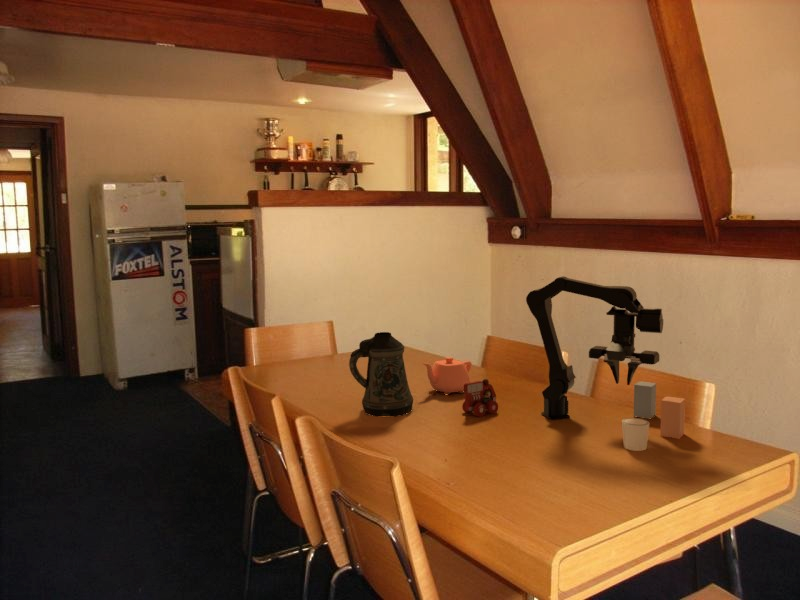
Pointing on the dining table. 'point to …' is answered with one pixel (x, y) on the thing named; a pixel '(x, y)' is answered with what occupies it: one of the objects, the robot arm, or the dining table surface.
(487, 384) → the toy fire truck
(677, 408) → the terracotta post
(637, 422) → the white cup
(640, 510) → the dining table surface
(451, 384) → the teapot
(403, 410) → the beer stein
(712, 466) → the dining table surface
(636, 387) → the slate post
